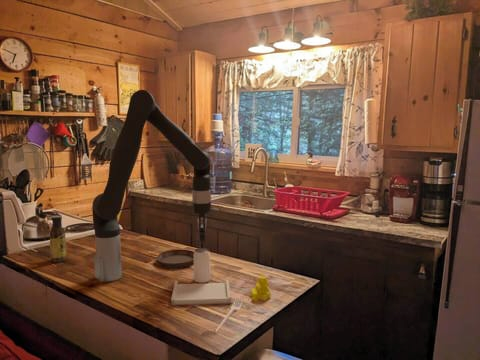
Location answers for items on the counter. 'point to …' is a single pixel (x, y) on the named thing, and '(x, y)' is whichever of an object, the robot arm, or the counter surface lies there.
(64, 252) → the sauce bottle
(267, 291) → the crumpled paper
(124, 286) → the counter surface
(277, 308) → the counter surface
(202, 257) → the can
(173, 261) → the plant saucer
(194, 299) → the tray
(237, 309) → the fork
